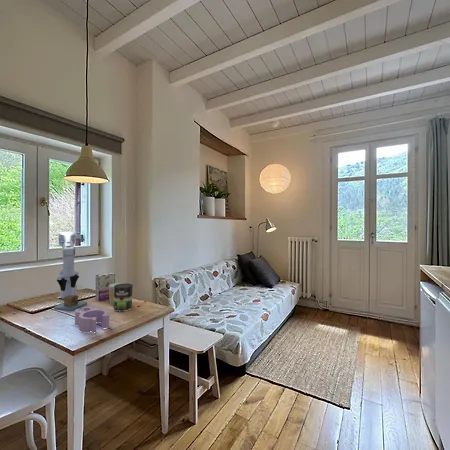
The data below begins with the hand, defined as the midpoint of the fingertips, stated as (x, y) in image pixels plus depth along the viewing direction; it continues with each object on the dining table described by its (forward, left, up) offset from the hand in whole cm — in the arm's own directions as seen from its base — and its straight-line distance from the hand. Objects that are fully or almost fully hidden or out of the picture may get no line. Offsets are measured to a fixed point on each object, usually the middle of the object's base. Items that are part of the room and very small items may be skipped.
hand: (68, 289), depth 156 cm
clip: (+23, +34, -10) cm, 43 cm away
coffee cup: (-9, +27, -10) cm, 30 cm away
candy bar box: (-16, +14, -10) cm, 23 cm away
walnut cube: (+3, +5, -8) cm, 10 cm away
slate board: (+3, +5, -9) cm, 11 cm away
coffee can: (-2, +36, -10) cm, 37 cm away
